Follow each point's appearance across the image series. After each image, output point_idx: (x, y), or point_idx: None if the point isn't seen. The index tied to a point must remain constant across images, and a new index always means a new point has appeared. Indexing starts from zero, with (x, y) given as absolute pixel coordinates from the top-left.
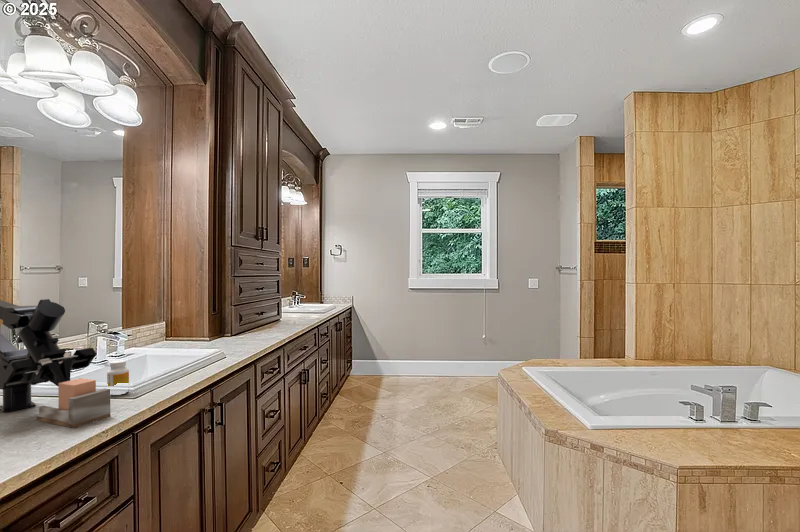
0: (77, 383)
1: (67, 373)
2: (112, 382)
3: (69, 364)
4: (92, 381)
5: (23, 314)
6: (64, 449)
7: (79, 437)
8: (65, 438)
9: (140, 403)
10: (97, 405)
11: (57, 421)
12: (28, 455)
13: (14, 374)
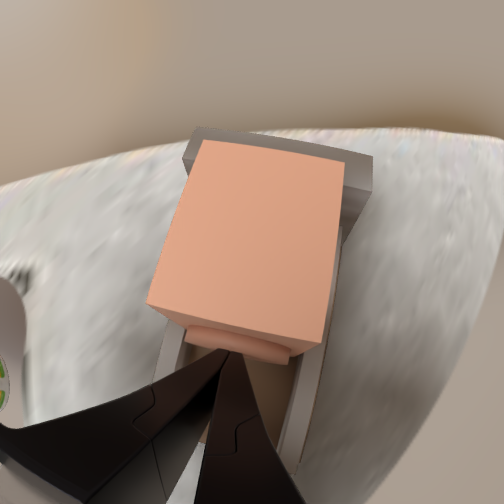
0: (298, 180)
1: (167, 398)
2: None
3: (75, 430)
4: (223, 145)
5: None
6: (437, 134)
7: (386, 150)
8: (404, 179)
9: (82, 208)
10: None
11: (331, 317)
12: (483, 181)
13: None
